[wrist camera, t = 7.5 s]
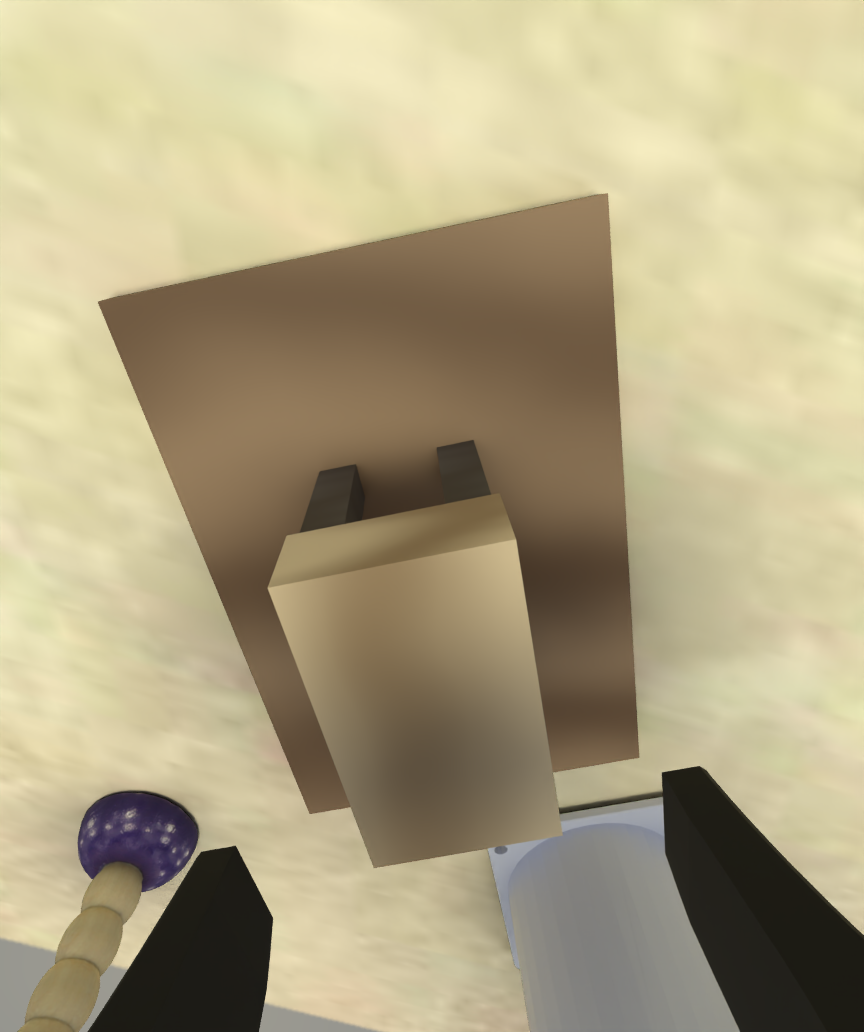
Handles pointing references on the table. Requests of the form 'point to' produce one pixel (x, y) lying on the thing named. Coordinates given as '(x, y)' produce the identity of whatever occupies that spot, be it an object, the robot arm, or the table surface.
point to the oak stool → (421, 664)
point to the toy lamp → (109, 899)
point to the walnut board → (408, 436)
